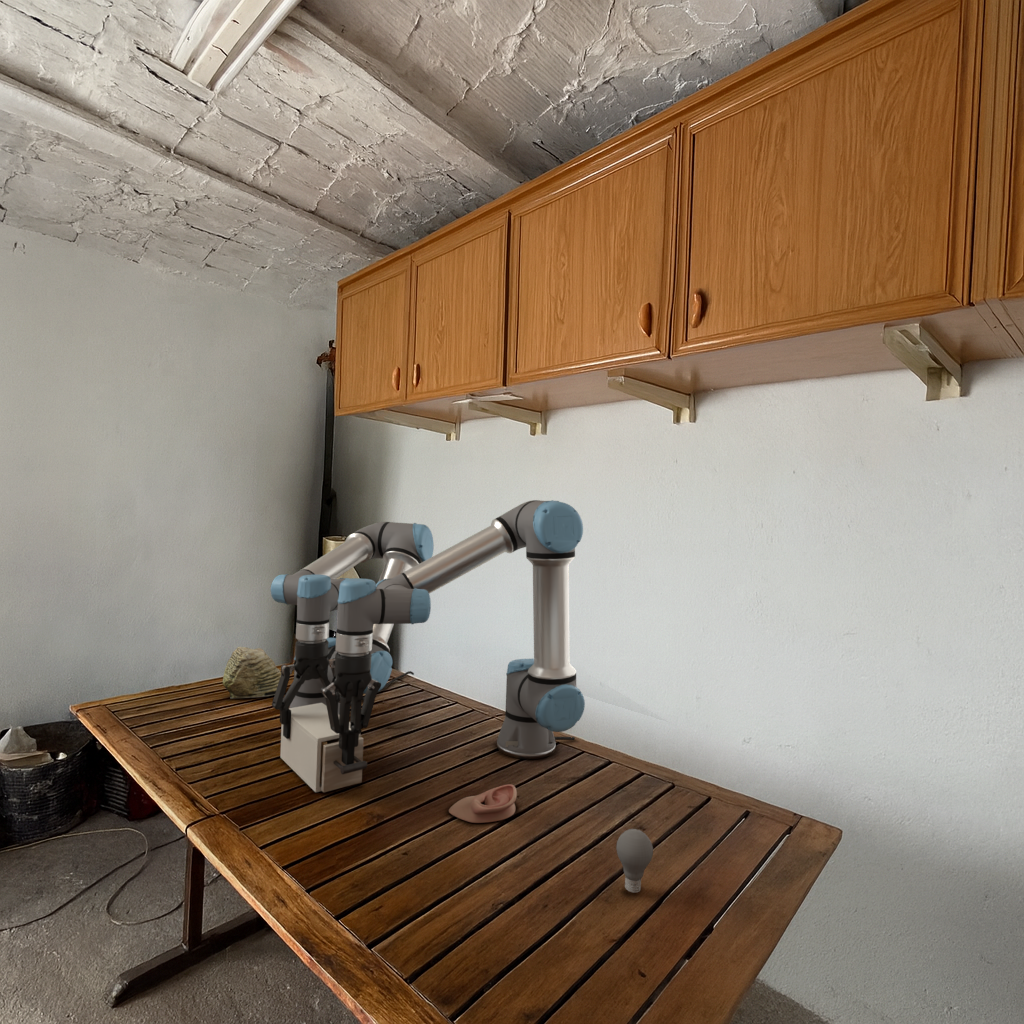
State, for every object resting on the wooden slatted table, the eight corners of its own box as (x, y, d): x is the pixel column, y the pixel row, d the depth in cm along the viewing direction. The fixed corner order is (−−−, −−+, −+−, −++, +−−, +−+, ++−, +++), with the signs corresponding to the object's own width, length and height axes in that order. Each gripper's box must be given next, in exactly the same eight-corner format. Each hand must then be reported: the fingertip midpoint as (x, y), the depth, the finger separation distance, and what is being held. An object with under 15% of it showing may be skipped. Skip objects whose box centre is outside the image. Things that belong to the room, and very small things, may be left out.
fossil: (218, 695, 195) (220, 647, 195) (278, 685, 208) (279, 640, 207) (228, 703, 189) (230, 653, 188) (289, 692, 201) (290, 645, 201)
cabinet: (358, 781, 142) (360, 729, 142) (315, 792, 136) (317, 738, 135) (320, 748, 159) (321, 702, 158) (280, 757, 152) (282, 709, 152)
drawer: (373, 792, 135) (375, 746, 135) (334, 803, 129) (336, 755, 129) (324, 750, 155) (325, 711, 155) (288, 758, 150) (290, 717, 149)
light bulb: (610, 879, 108) (613, 822, 108) (644, 879, 109) (647, 822, 109) (619, 902, 102) (622, 840, 102) (655, 901, 103) (658, 840, 103)
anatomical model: (444, 799, 126) (460, 775, 138) (443, 818, 126) (460, 793, 138) (509, 808, 124) (520, 783, 135) (508, 828, 124) (519, 801, 135)
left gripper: (269, 648, 141) (266, 747, 142) (362, 638, 156) (359, 728, 156) (258, 641, 147) (255, 736, 148) (349, 632, 161) (346, 719, 162)
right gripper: (331, 659, 127) (325, 776, 127) (389, 652, 135) (383, 762, 136) (316, 651, 133) (310, 763, 133) (373, 645, 141) (367, 750, 141)
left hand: (308, 732), depth 152 cm, fingers closed on cabinet, 10 cm apart
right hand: (347, 762), depth 134 cm, fingers closed
